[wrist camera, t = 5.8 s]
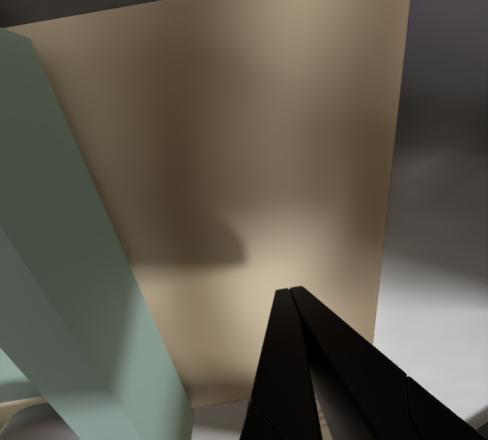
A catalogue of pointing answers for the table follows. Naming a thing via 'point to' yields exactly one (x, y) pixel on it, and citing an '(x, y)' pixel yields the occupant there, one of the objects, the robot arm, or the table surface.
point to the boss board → (231, 166)
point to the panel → (71, 279)
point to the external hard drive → (484, 430)
